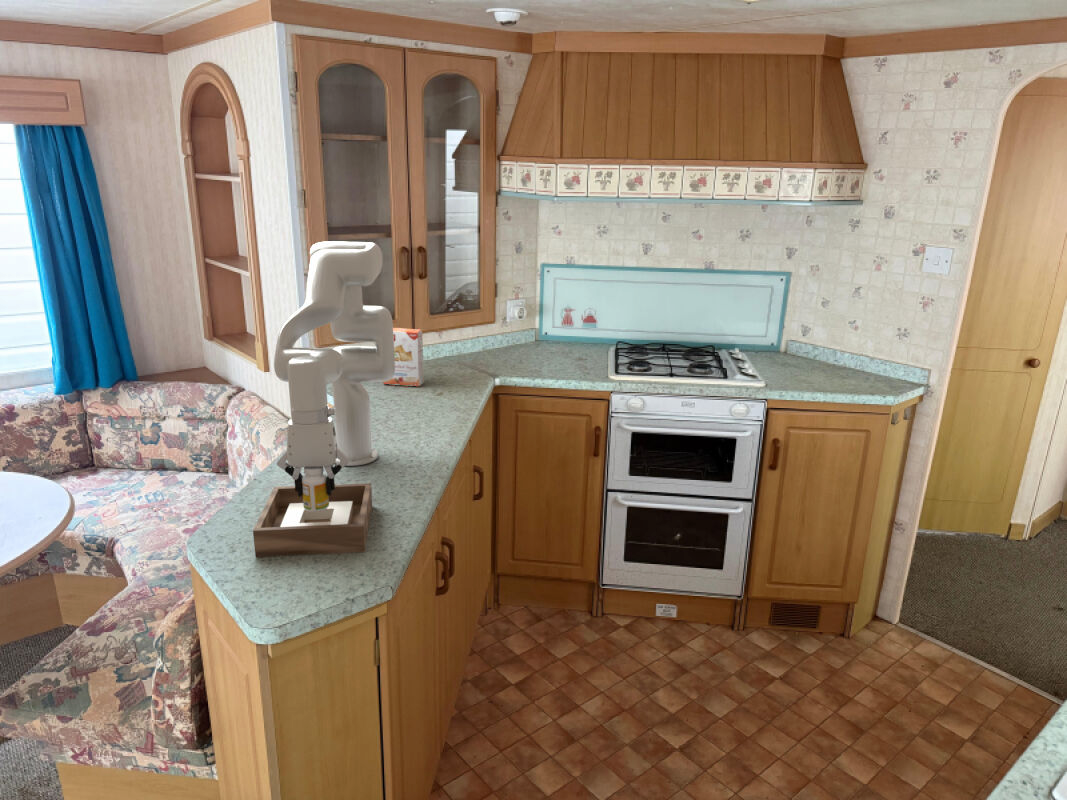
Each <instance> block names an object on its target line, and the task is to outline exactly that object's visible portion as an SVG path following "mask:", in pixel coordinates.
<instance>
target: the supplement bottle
mask: <svg viewBox="0 0 1067 800" xmlns="http://www.w3.org/2000/svg"><path fill="white" fill-rule="evenodd" d="M303 473H304V475H303V477H302V493H303V505H304V509H305V510H306V511H308V512H319V511H323V510H325V509H327V508H328V507H329V496H328V495H327V485H326V478H327V474H326V473H325V472H324V467H303Z"/></svg>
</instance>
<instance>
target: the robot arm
mask: <svg viewBox="0 0 1067 800" xmlns="http://www.w3.org/2000/svg"><path fill="white" fill-rule="evenodd" d="M309 256H310V262H309V268H308V275H307V279H306V287H305V294H304V302H303V305H302V306H301V307H300V308H299V309H298V310H296V311H295V312H294V313H293V314H292V315H291V316H290V317H289V318H288V319H287V320H286V321H285V322H284V324H283V325H282V327H281V328H280V331H279V333H278V335H277V339H276V340H277V341H276V346H275V353H274V360H273V369H274V373H275V375H276V377H277V378H278V379H279V380H280V381H282V382H285V383H288V390H289V391H288V393H289V405H290V406H289V407H290V418H291V419H289V420H288V425H287V431H286V432H287V433H286V440H287V441H286V451H285V452H284V453H283V454H282V456H280V458H279V459H278V460H277V462H276V465H277V466H278V467H279V468H280V469H282V470H284V472H286V473H287V474H288V475H289V476H290V477H292V479H293V481H294V486H295V491H296V492H298V497H301V496H302V495H303V493H302V477H303V476H304V475H303V474H302V472H301V471H302V468H304V467H323V469H324V470H325V472H326V476H327V478H326V485H327V495H328V496H331V493H332V490H335V485H336V484H335V482H336V481H335V477H336V475H337V474H338V473H339V472H340V471H342V469H344V468H345V466H346V467H347V466H348V467H350V466H351V467H353V466H354V467H355V466H363V465H366V464H370V463H373V462H374V461H375V460H376V459H378V457H379V456H378V455H379V454H378V453H379V451H377V450H376V449H375V448H373V446H372V445H373V444H372V442H373V441H372V424H371V423H372V421H371V403H370V401H371V400H370V395H369V392H368V390H367V389H366V388H365V386H364V384H362V383H363V382H364V383H366V382H367V383H378V382H379V383H383V382H385V381H389V380H391V379H392V377H393V376H394V372H395V355H394V335H393V328H394V323H393V322H394V321H393V318H392V314H391V312H390V310H389V309H388V308H387V307H385V306H381V305H365V304H364V303H363V289H362V287H368V286H371V285H372V284H373V283H374V282H375V280H376V279H377V278H378V277H379V275H380V274H381V271H382V268H383V263H384V262H383V261H384V260H383V252H382V249H381V247H380V246H379V245H378V244H377V243H374V242H366V241H338V240H337V241H335V240H334V241H321V242H316V243H315V244H312V246H311V247H310V251H309ZM328 324H329V325H330V331H331V335H332V337H333V338H334V340H336V341H339V342H344V343H345V342H347V343H373V344H374V345H341V346H340V345H339V346H336V347H334V348H328V347H324V348H323V347H295V344H296V343H297V341H298V340H299V339H300V338H301V337H303V336H304V335H305V334H307V333H309V332H311V331H313V330H316V329H318V328H320V327H323V326H326V325H328ZM330 384H331V389H332V400H333V402H332V403H333V408H331V407H329V404H328V393H327V392H328V391H327V385H330ZM331 416H333V417H334V420H333V418H332V417H331Z"/></svg>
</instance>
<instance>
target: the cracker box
mask: <svg viewBox="0 0 1067 800" xmlns="http://www.w3.org/2000/svg"><path fill="white" fill-rule="evenodd" d="M393 335H394V355H395V372H394V376H393V377H392V379H391V380H389V381H385V382H382V384H383V383H384V384H400V385H413V386H419V385H420V384H421V383H422V382H423V383H424V349H423V347H424V346H423V345H424V344H423V343H424V342H423V329H417V328H416V329H415V328H404V327H402V328H401V327H393Z"/></svg>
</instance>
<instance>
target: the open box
mask: <svg viewBox="0 0 1067 800" xmlns="http://www.w3.org/2000/svg"><path fill="white" fill-rule="evenodd" d="M341 501H353V514H352V519H351V523H350V524H339V525H315V526H292V527H280V526H281V524H282V521H283V519H284V516H285V514H286V512H287V509H288V507H289V504H290V503H303V495H302V496H301V497H298V492H296V491H295V485H289V486H273V488H272V490H271V492H270V495H269V497H268V498H267V501H266V503H265V505H264V507H263V509H262V511H261V513H260V516H259V518H258V519H257V521H256V524H255V526H254V527H253V529H252V534H253V543H254V553H255V557H256V558H264V557H265V558H266V557H282V556H284V557H287V556H305V555H306V556H307V555H310V556H311V555H327V554H346V553H347V554H350V553H351V554H353V553H365V552H366V547H367V542H368V536H367V535H369V529H370V524H369V523H370V522H371V516H372V510H373V493H372V483H349V484H348V483H345V484H341V483H340V484H335V490H332V493H331V496H329V502H341ZM315 522H331V519H316V520H305V521H304V523H315ZM366 541H367V542H366Z"/></svg>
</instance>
